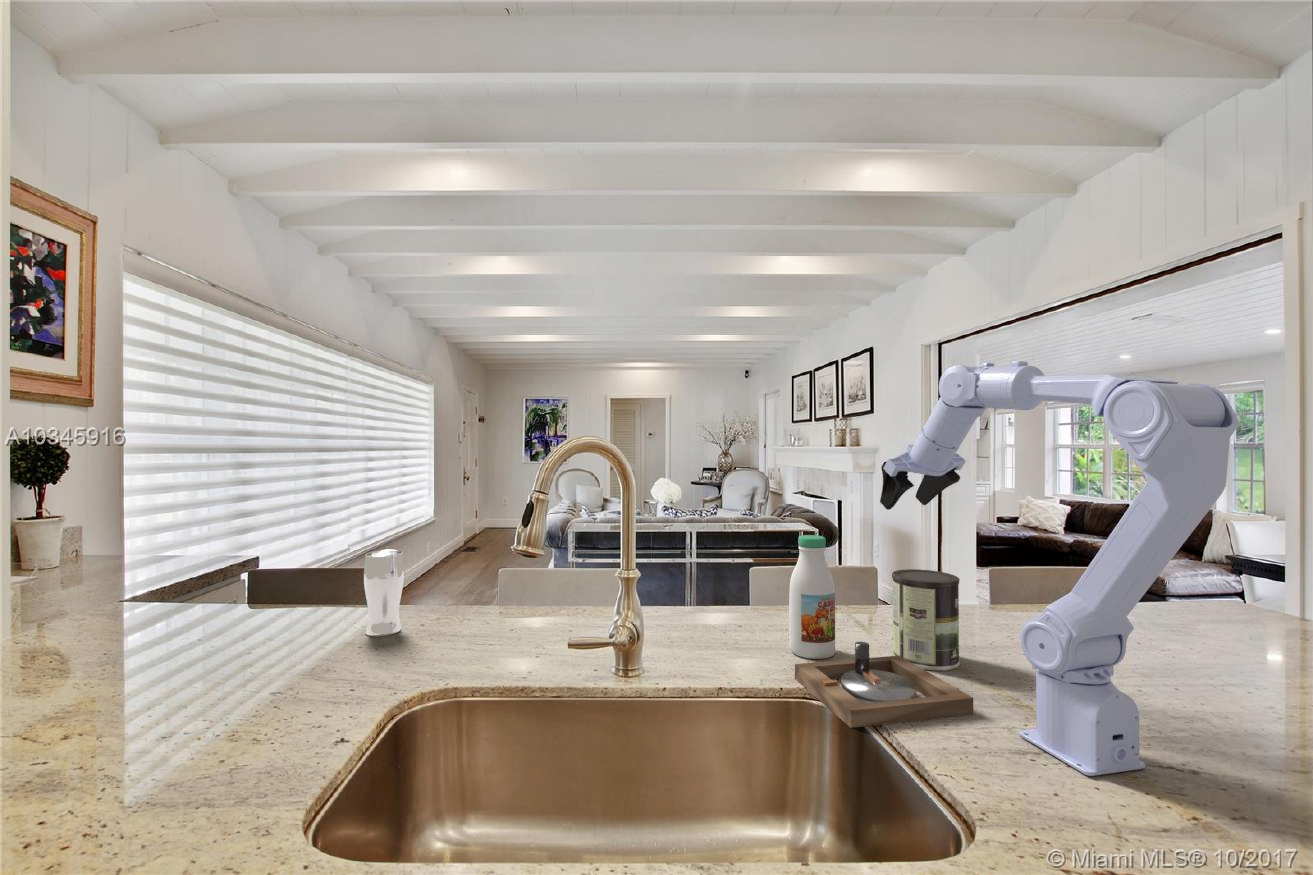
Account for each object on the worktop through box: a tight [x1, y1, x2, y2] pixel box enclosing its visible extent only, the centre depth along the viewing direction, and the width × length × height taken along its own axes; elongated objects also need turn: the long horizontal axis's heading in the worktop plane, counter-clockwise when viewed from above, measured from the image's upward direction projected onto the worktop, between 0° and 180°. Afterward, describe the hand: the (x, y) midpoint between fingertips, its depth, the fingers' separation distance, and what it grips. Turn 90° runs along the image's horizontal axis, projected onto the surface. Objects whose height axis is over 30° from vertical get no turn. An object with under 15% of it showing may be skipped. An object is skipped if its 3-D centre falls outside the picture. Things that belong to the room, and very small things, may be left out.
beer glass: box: [363, 549, 405, 637], centre depth 112 cm, size 7×7×15 cm
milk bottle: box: [788, 534, 836, 660], centre depth 101 cm, size 8×8×20 cm
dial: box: [840, 641, 917, 703], centre depth 84 cm, size 10×10×6 cm
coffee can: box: [891, 568, 961, 672], centre depth 98 cm, size 10×10×14 cm
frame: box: [794, 655, 974, 729], centre depth 84 cm, size 16×18×3 cm
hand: (903, 503), depth 97 cm, fingers open, 7 cm apart
